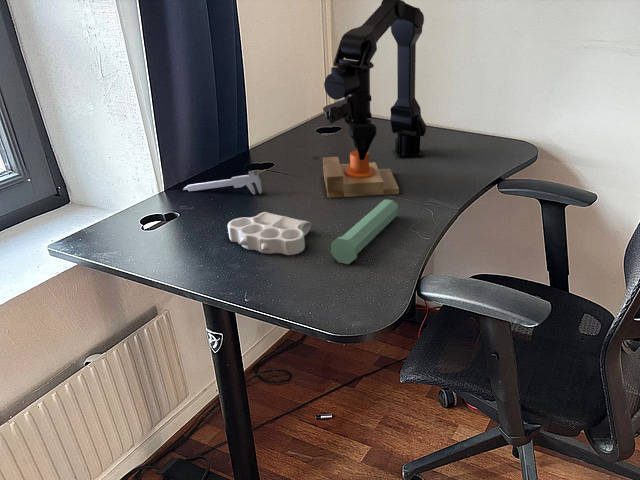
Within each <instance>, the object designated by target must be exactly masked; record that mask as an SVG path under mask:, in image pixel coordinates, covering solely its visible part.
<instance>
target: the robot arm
mask: <svg viewBox="0 0 640 480" xmlns="http://www.w3.org/2000/svg"><path fill="white" fill-rule="evenodd" d="M424 23H425V15H424V13H423V12H422V11H421V8H419V7H416V6H413V5H411V4H409V3H406V2H405V1H404V0H381V3H380V5H379V6H378V7H377V9H376V10H375V11H374V12H372V14H371V15H370V16H369V17H368V18H367V19H366V21H364V22H363V23H362V25H360V26H358V27H354V28H351V29H349V30H348V31H346V32H345V33H344V34H343V35H342V36H341V39H340V41H339V43H338V47H337V50H336V53H335V57H334V59H333V63H332V65H333V66H332V67H330V73H329V74H328V75H327V76H326V77H325V79H324V82H323V87H324V91H325V93H326V95H327V96H328V97H329V98H330V99H332V100H336V101H335V102H332V103H330V104H327V105H324V107H322V110H323V113H324V115H325V118H326V120H327V123H328V124H329V125H332V124H334V123H336V122H337V121H340V120H342V119H343V120H344V122H345V123H346V124H347V125H348V134H349V137H350V138H351V139H352V140H353V144H354V148H356V149H357V150H358V155H359V159H360V160H364V158H365V156H366V154H367V152H369V148H370V147H371V145H372V142H373V140H374V138H376V136H377V125H376V124H375V122H374V121H373V120H372V119H373V118H372V112H371V102H372V95H371V69H373V68H374V63H372V60H373V57H374V56H375V54H376V52H377V51H378V46H377V43H378V42H379V40H380V39H381V38H382V37H383V36H384V34H385V33H386V32H387V31H388V30H389V29H390V33H391V35H392V37H393V39H394V40H395V43H396V45H397V46H396V47H397V48H396V49H397V50H396V51H397V52H396V53H397V54H396V55H397V57H396V59H397V64H396V66H397V71H396V73H397V77H396V78H397V80H396V81H397V89H396V90H397V96H396V97H397V99H396V101H395V102H394V103H393V105H392V106H391V107H390V118H389V119H390V120H389V121H390V126H391V131H392V134H396V135H397V136H396V137H395V145H394V148H395V150H394V151H395V153H396V154H397V156H398V157H399V158H420V157H421V158H422V154H421V137H425V134H426V132H427V124H426V122H425V121H424V118H423V117H422V111H421V110H422V109H421V106H420V104H419V102H418V101H417V99H416V62H417V61H416V60H417V59H416V54H417V53H416V51H417V49H416V48H417V41H418V40H419V39H420V37H421V35H422V34H423V26H424ZM337 100H338V101H337Z"/></svg>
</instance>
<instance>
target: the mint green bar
mask: <svg viewBox="0 0 640 480" xmlns="http://www.w3.org/2000/svg"><path fill="white" fill-rule="evenodd" d="M398 215H399V205H398V204H397V202H396V201H395V200H393V199H392V200H391V199H387V198H384V199H383V200H382V201H381V202H379V204H377V205H376V206H375V207H374V208H373V209H372V210H371V211H370V212H368V213H367V214H366V215H364V216H363V218H361V220H359V221H358V222H356V224H354V225H353V227H351V228H350V229H349V230H347V232H346V233H344V234H343V235H342V236H338V237H337V238H336V239H334V240H333V241H332V242H331V243H330V254H331V255H332V257H333V258H334V259H335V260H336V261H337V263H341V264H344V265H350V264H351V263H352V262H354V261H355V260H356V259H357V258H358V254H359V253H360V252H361V251H362V250H363V249H364V248H365V247H367V245H369V243H370V242H372V241H373V240H374V239H375V238H376V237H377V235H379V234H380V233H381V232H382V231H384V229H385V228H386V227H387V226H388V225H389V224H390V223H392V221H393V220H394V219H395V218H396V217H397V216H398Z"/></svg>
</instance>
